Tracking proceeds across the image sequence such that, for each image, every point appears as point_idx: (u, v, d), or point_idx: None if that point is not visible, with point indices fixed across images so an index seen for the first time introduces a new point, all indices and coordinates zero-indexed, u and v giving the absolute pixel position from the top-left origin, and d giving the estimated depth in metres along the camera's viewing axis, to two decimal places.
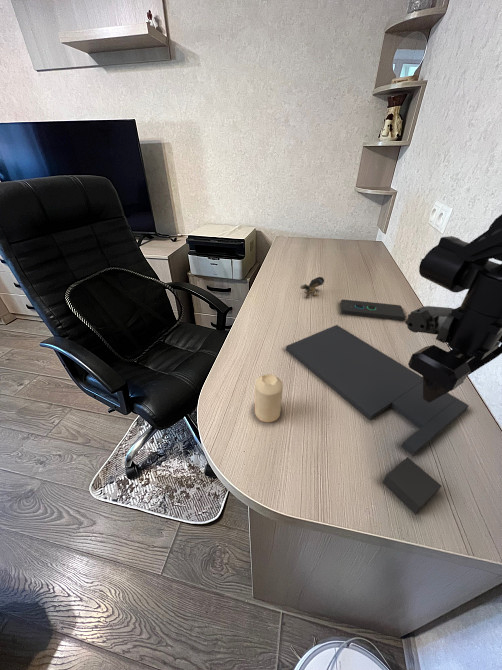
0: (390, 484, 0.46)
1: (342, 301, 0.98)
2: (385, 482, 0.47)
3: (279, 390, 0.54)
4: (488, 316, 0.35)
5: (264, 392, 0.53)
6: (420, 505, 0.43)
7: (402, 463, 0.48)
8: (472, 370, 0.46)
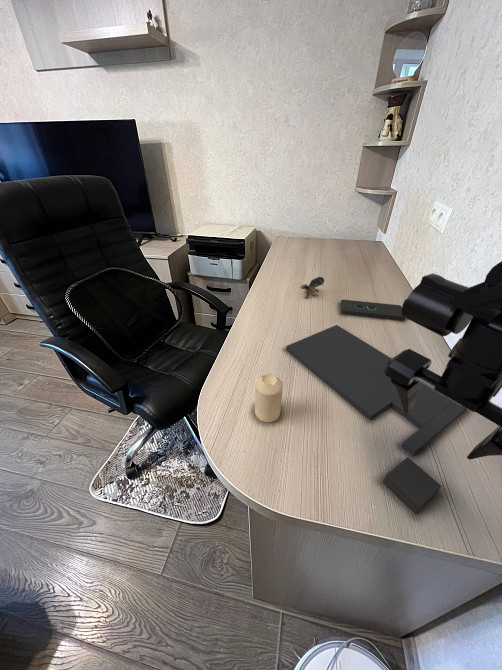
0: (390, 484, 0.46)
1: (342, 301, 0.98)
2: (385, 482, 0.47)
3: (279, 390, 0.54)
4: (458, 348, 0.35)
5: (264, 392, 0.53)
6: (420, 505, 0.43)
7: (402, 463, 0.48)
8: (474, 449, 0.37)
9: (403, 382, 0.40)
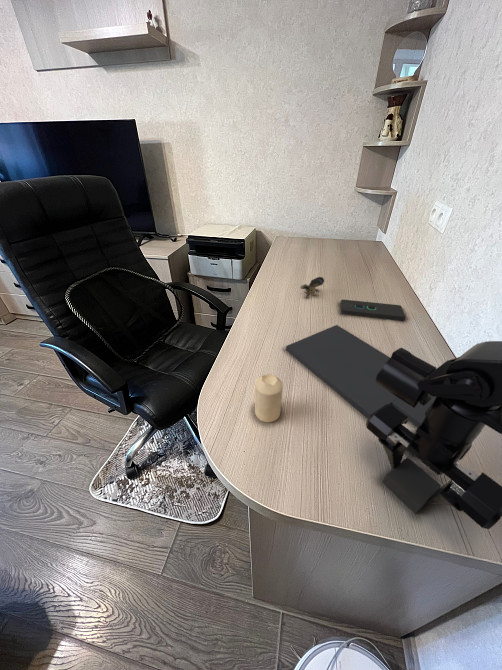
0: (390, 484, 0.46)
1: (342, 301, 0.98)
2: (385, 482, 0.47)
3: (279, 390, 0.54)
4: (426, 416, 0.39)
5: (264, 392, 0.53)
6: (420, 505, 0.43)
7: (402, 463, 0.48)
8: (431, 496, 0.42)
9: (381, 437, 0.45)
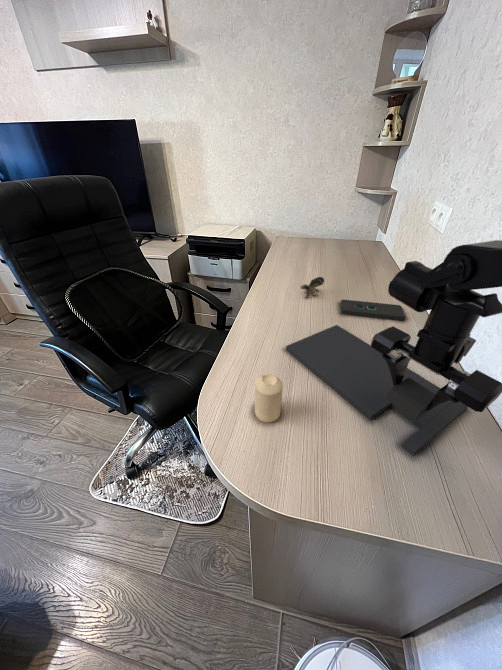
0: (393, 398, 0.51)
1: (342, 301, 0.98)
2: (388, 397, 0.51)
3: (279, 390, 0.54)
4: (426, 321, 0.43)
5: (264, 392, 0.53)
6: (420, 410, 0.47)
7: (404, 381, 0.52)
8: (431, 401, 0.46)
9: (385, 352, 0.49)
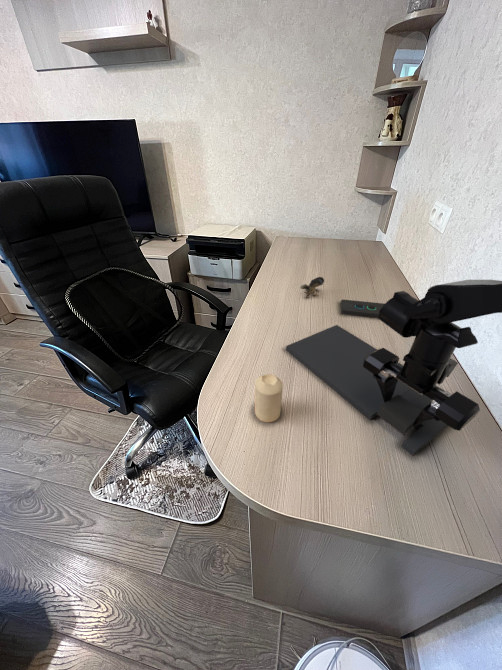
0: (383, 413, 0.55)
1: (342, 301, 0.98)
2: (379, 413, 0.56)
3: (279, 390, 0.54)
4: (411, 347, 0.48)
5: (264, 392, 0.53)
6: (407, 426, 0.51)
7: (393, 398, 0.57)
8: (416, 418, 0.51)
9: (375, 372, 0.54)
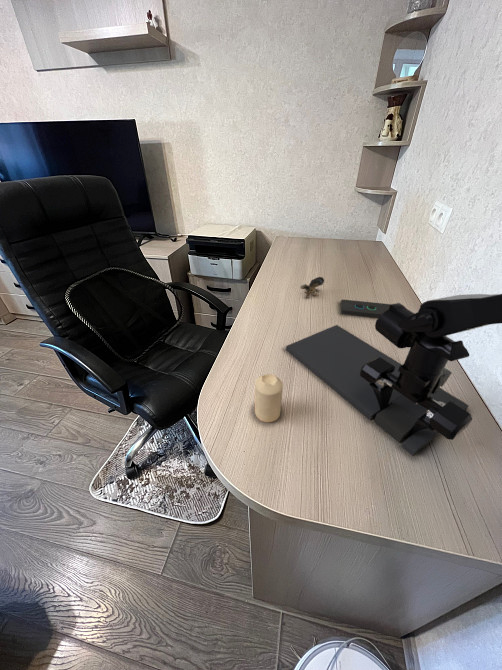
0: (379, 421, 0.57)
1: (342, 301, 0.98)
2: (375, 421, 0.58)
3: (279, 390, 0.54)
4: (406, 358, 0.49)
5: (264, 392, 0.53)
6: (403, 434, 0.53)
7: (390, 406, 0.58)
8: None
9: (371, 381, 0.55)
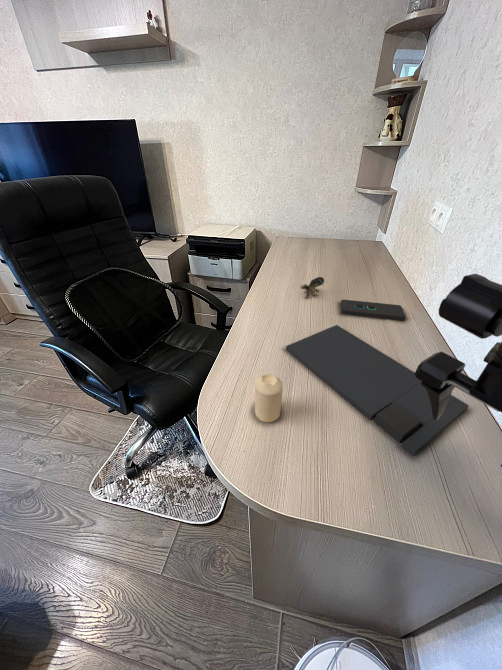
0: (379, 421, 0.57)
1: (342, 301, 0.98)
2: (375, 421, 0.58)
3: (279, 390, 0.54)
4: (497, 351, 0.34)
5: (264, 392, 0.53)
6: (403, 434, 0.53)
7: (390, 406, 0.58)
8: None
9: (435, 385, 0.39)
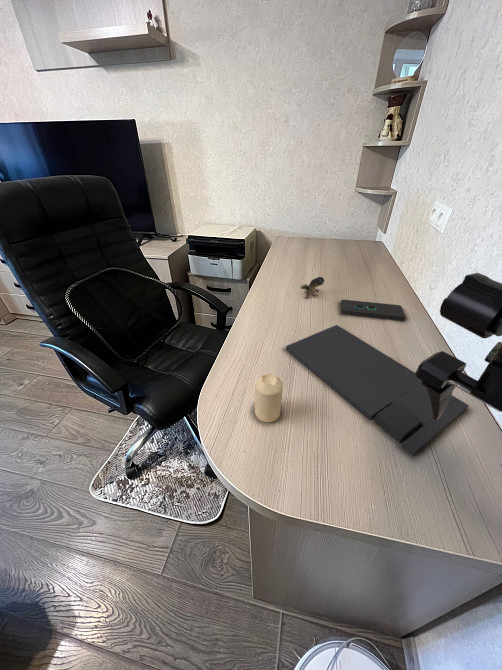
0: (379, 421, 0.57)
1: (342, 301, 0.98)
2: (375, 421, 0.58)
3: (279, 390, 0.54)
4: (498, 351, 0.33)
5: (264, 392, 0.53)
6: (403, 434, 0.53)
7: (390, 406, 0.58)
8: None
9: (436, 385, 0.39)
